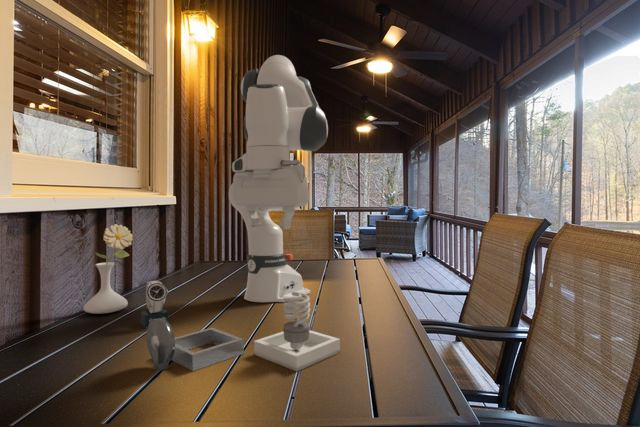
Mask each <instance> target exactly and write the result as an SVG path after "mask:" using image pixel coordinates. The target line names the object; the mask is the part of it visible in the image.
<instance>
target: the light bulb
mask: <svg viewBox="0 0 640 427" xmlns="http://www.w3.org/2000/svg"><path fill="white" fill-rule="evenodd" d="M292 295H293V296H297V297H285V298H284V299H283V300H284V301H285V302H282V303H283V304H282V307H283V309H282V312H283V313H284V314H283V318H284V319H287V320H288V319H289V320H291V319H292V320H291V321H288V322H285V323H284V324H283V329H282V332H284V339H285V340H286V341H288V342H290V347H291V348H292V349H294V350H295V351H297V350H299V349H301V348H302V346H303V342H305V341H307V340H308V338H309V331H310V330H311V327H310V324H309V322H306V321H308V319H309V318H310V317H311V316H310V313H311V308H310V307H311V302H310V301H311V299H310V296H309V295H308V294H303V293H299V292H292ZM298 313H299V314H298ZM299 318H300V319H299Z"/></svg>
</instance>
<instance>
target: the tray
mask: <svg viewBox="0 0 640 427" xmlns="http://www.w3.org/2000/svg"><path fill="white" fill-rule="evenodd" d="M340 353H341V339H340V338H338V337H335V336H331V335H327V334H324V333H320V332H317V331H314V330H311V329H310V331H309V338H308V340H307V341H305V342H303V346H302V348H301V349H299V350H297V351H295V350H294V349H292V348H291V347H290V342H288V341H286V340H285V339H284V332H283V331H280V332H277V333H275V334H270V335H268V336H264V337H262V338H259V339H255V340H253V355H254V356H256V357H259V358H261V359H264V360H267V361H270V363H275V364H277V365H279V366H282V367H284V368H287V369H288V370H292V371H295V372H299V371H301V370H303V369H306V368H308V367H310V366H312V365H315V364H318V363H320V362H321V361H325V360H326V359H328V358H331V357H333V356H335V355H338V354H340Z"/></svg>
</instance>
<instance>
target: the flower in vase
mask: <svg viewBox="0 0 640 427" xmlns="http://www.w3.org/2000/svg"><path fill="white" fill-rule="evenodd" d="M102 240H103V241H104V242H105V244H106V245H107V246H108V247H109V248H113V251H112V253H111V255H110V256H107V255H106V254H105V255H104V254H101V253H99V252H96V251H95V254H96V256H98V257H99V258H102V259H107V261H106V262H99V263H95V267H96V268H97V269H98V272H99V275H100V283H101V284H100V289H99V291H98V292H97V293H96V294H94V296H92V297H91V298H90V299H89V300H88V301H87V302H86V303H85V304H84V305H83V308H82V309H83V311H84V312H86V313H87V314H88V313H89V314H95V315H96V314H97V315H98V314H102V315H103V314H110V313H114V312H117V311H121V310H124V309H125V308H127V306H128V305H129V302H128V300H127V299H126V298H125V297H123V296H122V295H120V294H119V293H117V292H116V291H114V290H113V289H112V287H111V272H112V269H113V267H114V266H115V262H111V261H110V260H111V259H112V257H113V256H115V257H116V258H118V259H123V258H126V257H129V256H130V254H129V253H128V252H127V251H125V250H124V249H125V248H127V247H130V246H132V241H133V233H131V230H129V228H128V227H126V226H123V225H122V224H119V225H118V224H117V223H115V224H114V225H113V224H112V225H110V227H106V228H105V229H104V233H103V239H102ZM116 249H117V251H116Z"/></svg>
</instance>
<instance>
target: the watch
mask: <svg viewBox="0 0 640 427" xmlns="http://www.w3.org/2000/svg"><path fill="white" fill-rule="evenodd" d="M168 294H169V290H168V288H167V287H166V286H165V285H164V284H163V283H162V281H159V280H150V281H147V282H146V286H145V303H146V307H147V309H148V310H146V311H145V310H144V311H141V312H140V325H141V326H142V327H144V328H145V329H147V328H146V327H148V325H149V323H150V322H151V321H153V320H157V319H161V318H163V319H166V320H167V321H168V322H169V312H168V310H166V309H165V308H163V306H164V304H165V302H166V297H167V295H168Z"/></svg>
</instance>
